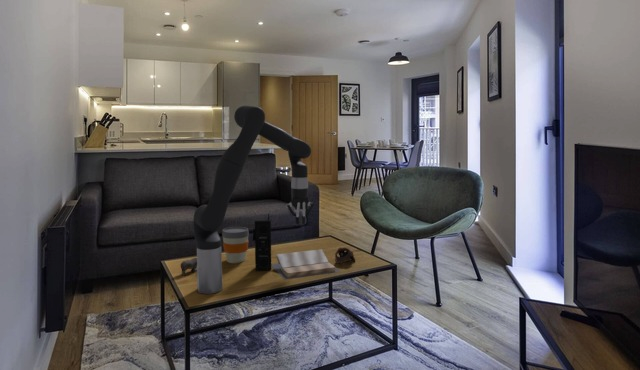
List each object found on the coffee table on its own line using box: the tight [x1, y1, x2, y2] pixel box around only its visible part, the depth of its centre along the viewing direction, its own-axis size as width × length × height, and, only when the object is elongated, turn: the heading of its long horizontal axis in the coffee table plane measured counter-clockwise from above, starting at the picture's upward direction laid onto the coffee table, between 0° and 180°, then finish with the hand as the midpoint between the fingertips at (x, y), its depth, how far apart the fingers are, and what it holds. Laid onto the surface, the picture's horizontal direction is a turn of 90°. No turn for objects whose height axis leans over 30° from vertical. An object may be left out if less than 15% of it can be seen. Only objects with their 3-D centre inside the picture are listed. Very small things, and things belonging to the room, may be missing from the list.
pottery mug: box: [334, 247, 356, 265], centre depth 203 cm, size 12×10×8 cm
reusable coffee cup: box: [221, 226, 250, 264], centre depth 205 cm, size 13×13×15 cm
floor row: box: [283, 262, 336, 277], centre depth 189 cm, size 22×7×2 cm, turn 112°
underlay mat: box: [271, 262, 342, 281], centre depth 194 cm, size 26×22×1 cm
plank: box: [276, 248, 329, 271], centre depth 196 cm, size 22×9×2 cm
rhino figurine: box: [180, 257, 197, 277], centre depth 190 cm, size 4×14×6 cm, turn 148°
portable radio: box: [252, 213, 272, 272], centre depth 191 cm, size 8×6×25 cm
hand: (299, 224), depth 197 cm, fingers closed
